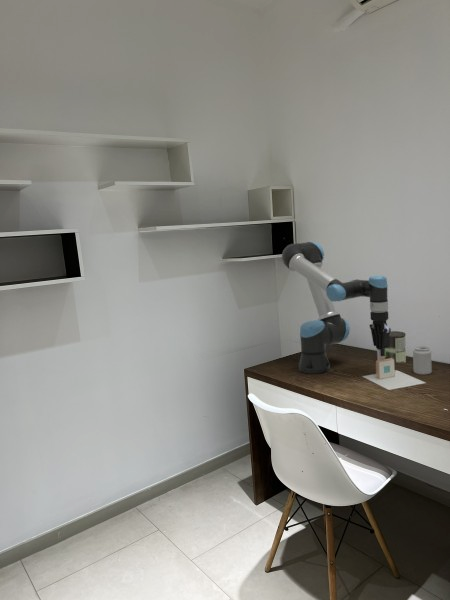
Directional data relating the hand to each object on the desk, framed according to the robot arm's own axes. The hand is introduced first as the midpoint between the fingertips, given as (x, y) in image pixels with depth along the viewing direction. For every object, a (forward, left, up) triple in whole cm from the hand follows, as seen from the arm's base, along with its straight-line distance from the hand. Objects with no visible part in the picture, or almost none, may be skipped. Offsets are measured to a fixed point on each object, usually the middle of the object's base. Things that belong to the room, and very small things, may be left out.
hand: (381, 362), depth 207 cm
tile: (+3, 0, -6) cm, 7 cm away
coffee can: (-17, +19, -7) cm, 26 cm away
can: (+5, +18, -7) cm, 20 cm away
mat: (+7, +1, -7) cm, 10 cm away
